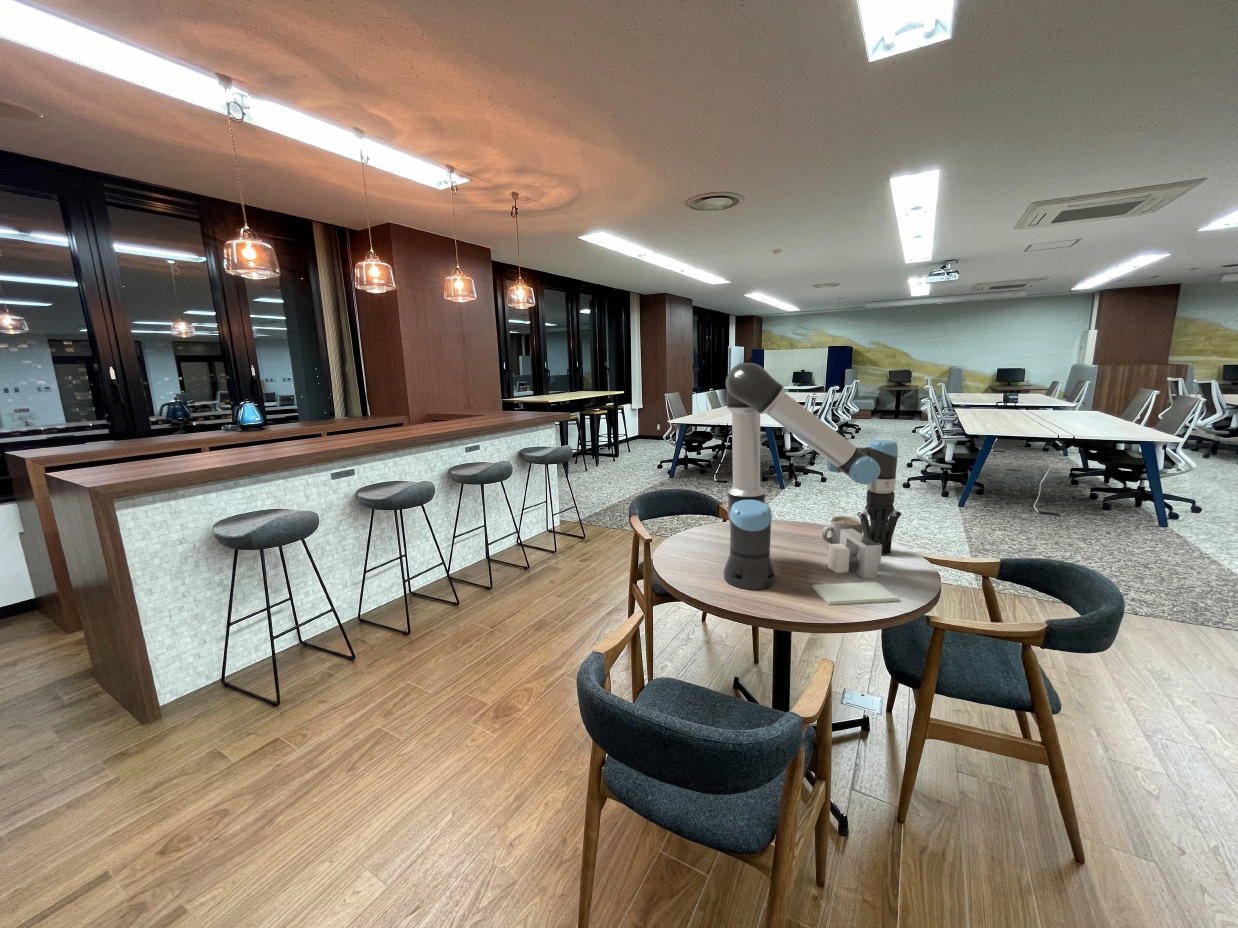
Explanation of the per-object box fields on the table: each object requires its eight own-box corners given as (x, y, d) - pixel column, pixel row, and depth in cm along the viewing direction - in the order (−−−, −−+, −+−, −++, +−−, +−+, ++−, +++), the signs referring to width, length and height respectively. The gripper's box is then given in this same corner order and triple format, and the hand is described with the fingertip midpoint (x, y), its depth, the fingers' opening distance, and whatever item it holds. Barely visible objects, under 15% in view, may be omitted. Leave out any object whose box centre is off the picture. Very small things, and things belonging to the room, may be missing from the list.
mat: (828, 604, 127) (829, 601, 127) (812, 587, 137) (812, 584, 136) (897, 601, 128) (897, 597, 127) (875, 584, 137) (876, 581, 137)
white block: (835, 572, 146) (837, 549, 145) (827, 566, 151) (829, 544, 150) (877, 570, 147) (879, 547, 146) (868, 564, 152) (870, 542, 150)
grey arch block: (863, 578, 142) (866, 545, 140) (838, 559, 156) (840, 529, 154) (876, 577, 142) (879, 544, 140) (850, 558, 157) (852, 528, 155)
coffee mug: (855, 542, 171) (857, 516, 169) (865, 552, 161) (867, 525, 159) (816, 541, 173) (818, 515, 171) (824, 551, 163) (826, 524, 161)
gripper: (867, 494, 141) (862, 568, 145) (909, 492, 141) (903, 566, 146) (853, 488, 148) (849, 559, 153) (893, 486, 149) (888, 556, 153)
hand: (876, 562), depth 149 cm, fingers closed
